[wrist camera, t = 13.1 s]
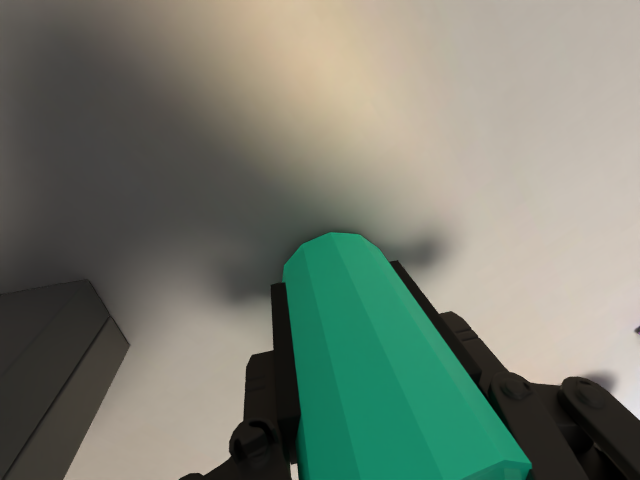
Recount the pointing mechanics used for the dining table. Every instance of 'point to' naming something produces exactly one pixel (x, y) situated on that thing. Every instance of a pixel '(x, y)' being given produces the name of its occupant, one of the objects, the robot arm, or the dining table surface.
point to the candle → (382, 378)
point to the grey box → (52, 375)
